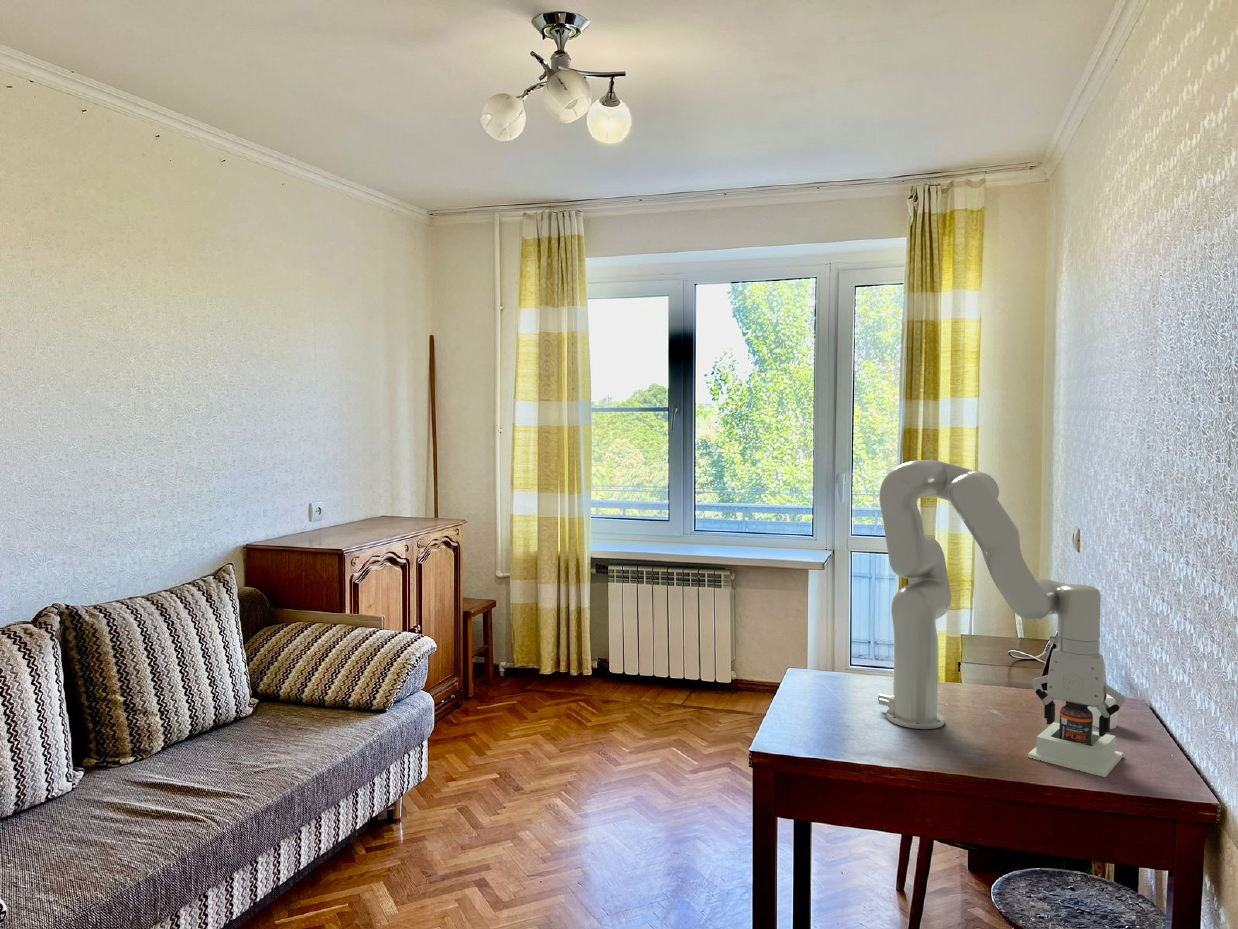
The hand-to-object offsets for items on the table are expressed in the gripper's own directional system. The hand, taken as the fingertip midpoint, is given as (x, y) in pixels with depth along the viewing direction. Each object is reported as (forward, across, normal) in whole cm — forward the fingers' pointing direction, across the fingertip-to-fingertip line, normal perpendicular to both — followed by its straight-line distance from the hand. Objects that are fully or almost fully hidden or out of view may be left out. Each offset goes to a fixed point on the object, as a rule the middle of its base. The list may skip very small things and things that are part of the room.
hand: (1076, 728), depth 167 cm
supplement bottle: (+5, 0, 0) cm, 5 cm away
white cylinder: (+6, -1, +25) cm, 26 cm away
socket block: (+6, 0, 0) cm, 6 cm away
